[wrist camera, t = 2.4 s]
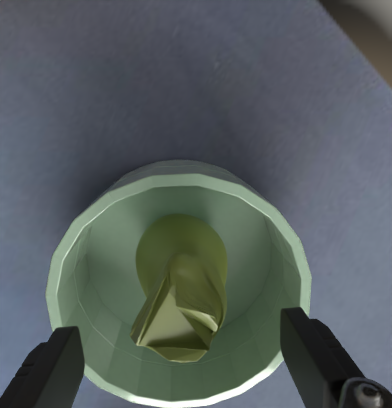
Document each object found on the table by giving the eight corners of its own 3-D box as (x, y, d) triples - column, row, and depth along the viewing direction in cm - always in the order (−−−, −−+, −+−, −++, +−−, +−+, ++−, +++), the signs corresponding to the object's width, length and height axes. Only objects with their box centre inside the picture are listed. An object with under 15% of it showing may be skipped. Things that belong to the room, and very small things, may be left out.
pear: (194, 287, 22) (208, 413, 13) (127, 258, 21) (88, 370, 12) (230, 222, 21) (276, 306, 12) (162, 189, 20) (149, 251, 11)
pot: (45, 203, 21) (-7, 235, 15) (242, 128, 20) (269, 130, 14) (129, 363, 24) (115, 438, 19) (298, 303, 24) (336, 361, 18)
